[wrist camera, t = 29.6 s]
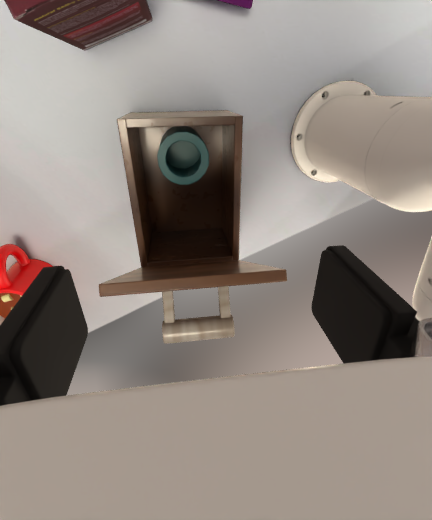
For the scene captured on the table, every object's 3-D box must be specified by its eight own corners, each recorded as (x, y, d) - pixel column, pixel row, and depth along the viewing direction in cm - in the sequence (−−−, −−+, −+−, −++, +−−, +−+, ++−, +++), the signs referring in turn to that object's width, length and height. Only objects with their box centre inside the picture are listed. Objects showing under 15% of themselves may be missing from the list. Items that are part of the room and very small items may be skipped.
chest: (130, 112, 36) (116, 118, 28) (227, 110, 37) (242, 115, 29) (147, 235, 44) (141, 268, 36) (226, 229, 46) (238, 261, 37)
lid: (98, 284, 18) (104, 360, 18) (286, 269, 19) (290, 340, 20) (140, 267, 36) (144, 306, 36) (239, 260, 37) (241, 298, 37)
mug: (41, 230, 42) (15, 257, 35) (70, 296, 48) (54, 330, 41) (-16, 238, 42) (-53, 267, 35) (21, 304, 48) (-4, 339, 41)
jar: (202, 124, 37) (208, 130, 31) (204, 169, 40) (209, 183, 34) (157, 125, 36) (154, 132, 30) (162, 171, 39) (160, 186, 33)
